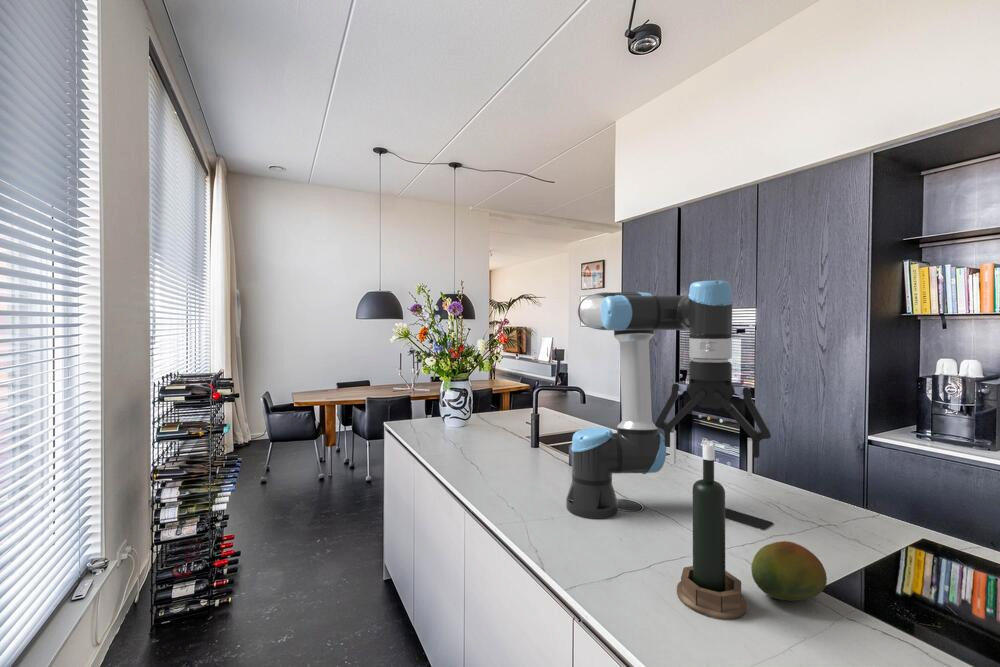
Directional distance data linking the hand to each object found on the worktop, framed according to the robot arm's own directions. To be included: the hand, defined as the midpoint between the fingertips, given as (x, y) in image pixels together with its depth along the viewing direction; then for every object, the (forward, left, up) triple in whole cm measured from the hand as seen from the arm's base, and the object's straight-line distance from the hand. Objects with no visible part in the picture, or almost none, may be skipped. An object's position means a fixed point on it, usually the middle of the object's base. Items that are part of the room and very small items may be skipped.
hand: (709, 468), depth 86 cm
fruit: (+13, +8, -26) cm, 30 cm away
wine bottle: (0, 0, -25) cm, 25 cm away
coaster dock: (0, 0, -25) cm, 25 cm away
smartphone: (+5, +45, -26) cm, 52 cm away
